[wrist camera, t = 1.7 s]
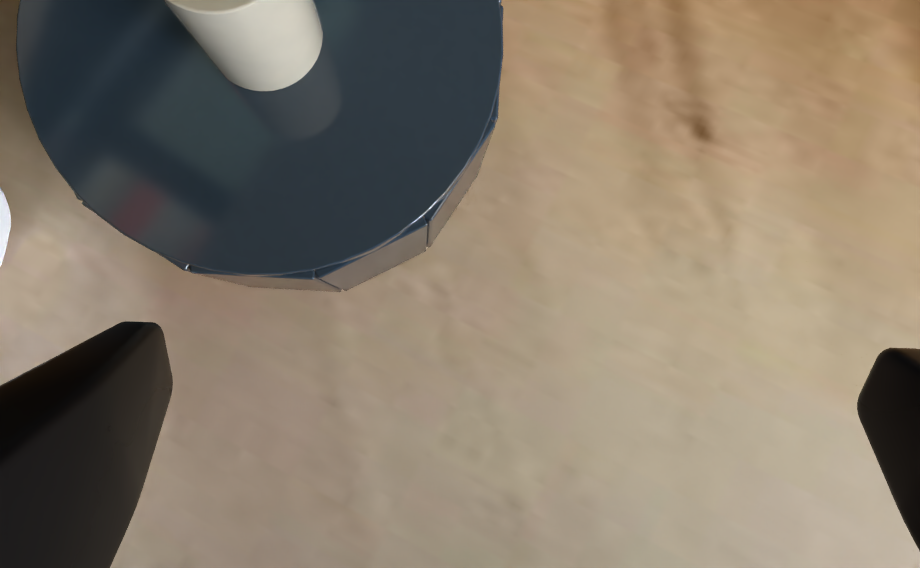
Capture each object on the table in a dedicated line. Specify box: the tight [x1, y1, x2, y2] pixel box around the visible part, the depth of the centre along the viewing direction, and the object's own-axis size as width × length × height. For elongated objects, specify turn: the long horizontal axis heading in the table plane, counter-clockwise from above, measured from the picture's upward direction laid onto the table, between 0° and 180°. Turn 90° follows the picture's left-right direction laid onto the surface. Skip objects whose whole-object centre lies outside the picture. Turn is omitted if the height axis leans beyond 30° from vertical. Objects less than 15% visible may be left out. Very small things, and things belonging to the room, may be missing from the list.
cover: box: [16, 0, 503, 292], centre depth 17 cm, size 12×12×10 cm
